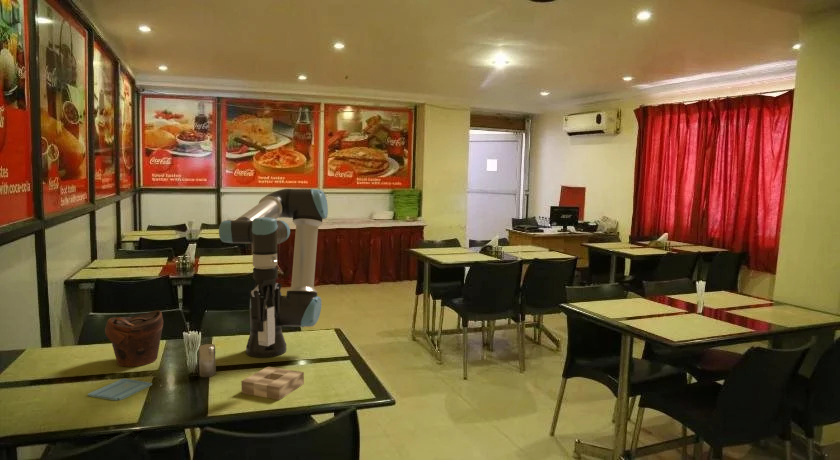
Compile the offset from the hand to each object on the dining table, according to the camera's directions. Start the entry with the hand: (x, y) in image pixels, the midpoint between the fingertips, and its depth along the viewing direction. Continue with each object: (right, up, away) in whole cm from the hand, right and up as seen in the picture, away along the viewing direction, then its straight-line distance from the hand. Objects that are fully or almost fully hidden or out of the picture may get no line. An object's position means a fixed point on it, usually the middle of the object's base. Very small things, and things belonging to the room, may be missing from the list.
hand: (266, 338), depth 177 cm
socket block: (+2, -16, +2) cm, 17 cm away
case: (-55, -13, +26) cm, 62 cm away
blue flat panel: (-46, -17, 0) cm, 49 cm away
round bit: (-24, -15, +14) cm, 31 cm away
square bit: (0, -2, 0) cm, 2 cm away
